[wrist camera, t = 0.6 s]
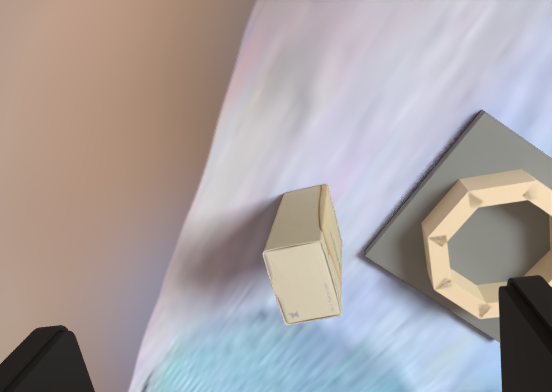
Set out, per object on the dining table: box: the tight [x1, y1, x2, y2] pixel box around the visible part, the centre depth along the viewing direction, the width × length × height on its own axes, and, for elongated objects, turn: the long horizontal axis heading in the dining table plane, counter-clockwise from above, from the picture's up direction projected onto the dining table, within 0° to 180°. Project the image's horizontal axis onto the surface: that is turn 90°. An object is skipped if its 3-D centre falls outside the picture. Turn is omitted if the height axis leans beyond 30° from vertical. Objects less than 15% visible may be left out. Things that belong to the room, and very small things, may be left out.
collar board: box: [365, 110, 552, 342], centre depth 41 cm, size 16×16×4 cm
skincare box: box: [262, 184, 342, 325], centre depth 38 cm, size 6×4×12 cm
